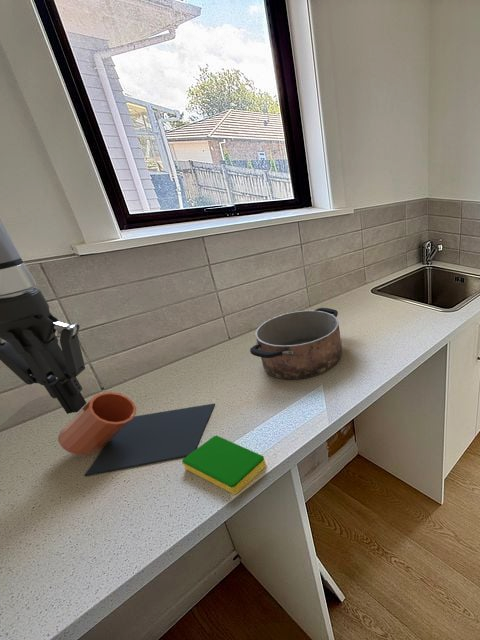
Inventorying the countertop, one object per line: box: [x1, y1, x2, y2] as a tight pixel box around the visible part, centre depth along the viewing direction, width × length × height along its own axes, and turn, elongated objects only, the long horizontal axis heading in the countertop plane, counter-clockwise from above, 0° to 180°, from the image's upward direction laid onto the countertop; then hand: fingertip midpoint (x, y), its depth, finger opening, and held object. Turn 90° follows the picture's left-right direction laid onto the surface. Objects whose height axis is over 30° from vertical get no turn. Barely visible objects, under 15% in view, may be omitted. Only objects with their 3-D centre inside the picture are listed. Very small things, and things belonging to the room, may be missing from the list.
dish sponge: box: [181, 435, 267, 495], centre depth 64 cm, size 7×14×2 cm, turn 66°
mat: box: [84, 403, 216, 477], centre depth 72 cm, size 18×16×1 cm
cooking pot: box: [249, 307, 343, 381], centre depth 98 cm, size 30×22×11 cm
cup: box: [57, 391, 137, 456], centre depth 67 cm, size 8×8×10 cm
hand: (77, 408), depth 64 cm, fingers closed
